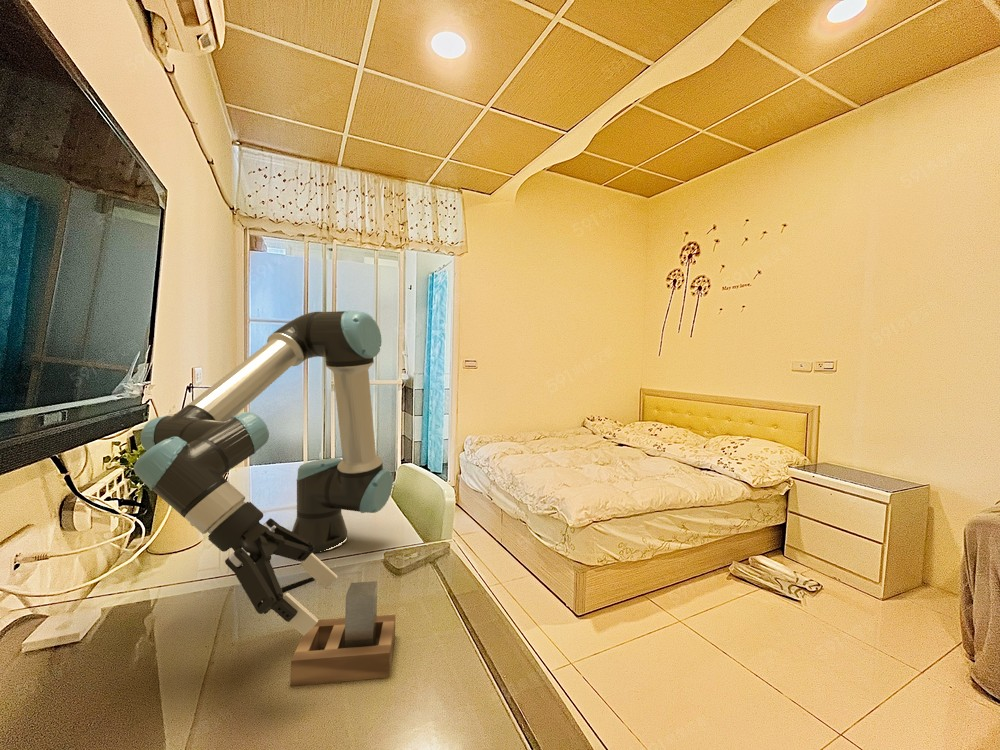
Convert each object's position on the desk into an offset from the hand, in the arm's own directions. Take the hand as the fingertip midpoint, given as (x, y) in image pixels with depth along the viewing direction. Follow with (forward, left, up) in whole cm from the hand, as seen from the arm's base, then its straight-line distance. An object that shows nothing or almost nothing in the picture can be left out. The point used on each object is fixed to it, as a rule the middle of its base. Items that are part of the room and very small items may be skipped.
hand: (322, 603), depth 70 cm
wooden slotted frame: (0, +4, -10) cm, 11 cm away
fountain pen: (-25, -13, -11) cm, 30 cm away
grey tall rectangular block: (0, +6, -10) cm, 12 cm away
